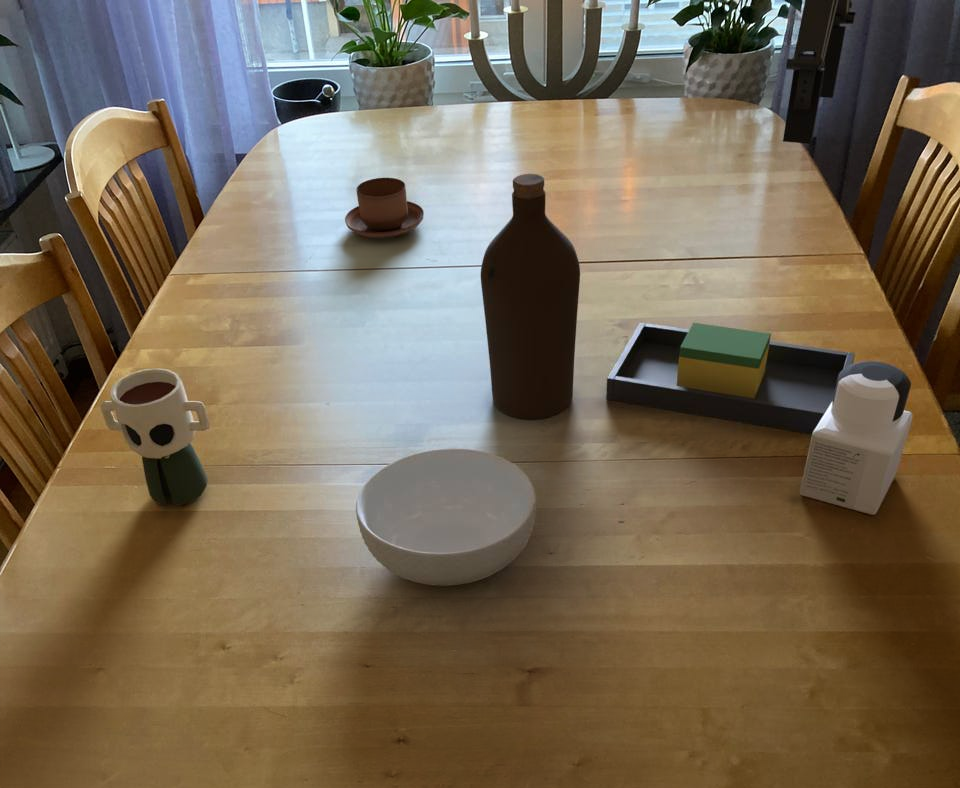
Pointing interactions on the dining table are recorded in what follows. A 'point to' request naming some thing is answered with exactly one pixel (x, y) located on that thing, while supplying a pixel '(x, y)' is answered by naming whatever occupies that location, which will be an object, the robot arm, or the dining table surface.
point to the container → (859, 438)
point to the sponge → (723, 360)
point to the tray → (778, 402)
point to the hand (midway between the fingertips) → (809, 118)
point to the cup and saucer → (383, 209)
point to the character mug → (160, 431)
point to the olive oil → (530, 308)
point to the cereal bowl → (446, 515)
